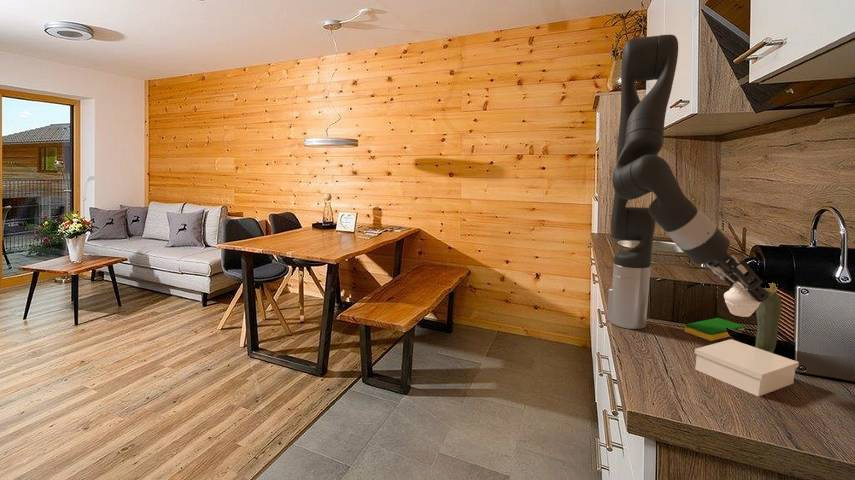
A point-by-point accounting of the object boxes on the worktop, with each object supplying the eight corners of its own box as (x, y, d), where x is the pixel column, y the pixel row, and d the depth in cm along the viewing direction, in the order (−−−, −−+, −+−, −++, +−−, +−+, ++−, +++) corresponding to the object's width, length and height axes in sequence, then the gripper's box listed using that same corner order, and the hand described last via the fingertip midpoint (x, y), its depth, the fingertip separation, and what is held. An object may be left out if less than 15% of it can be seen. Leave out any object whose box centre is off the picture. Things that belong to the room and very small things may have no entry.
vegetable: (778, 365, 89) (790, 278, 86) (756, 364, 90) (767, 277, 87) (766, 357, 93) (777, 273, 90) (745, 355, 94) (755, 272, 91)
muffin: (738, 319, 79) (743, 285, 78) (714, 309, 85) (718, 277, 84) (767, 319, 80) (772, 284, 79) (741, 309, 86) (745, 277, 85)
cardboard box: (692, 370, 88) (695, 348, 87) (728, 359, 93) (731, 339, 92) (758, 399, 76) (762, 374, 76) (795, 385, 81) (799, 362, 81)
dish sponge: (683, 332, 109) (684, 324, 109) (717, 325, 114) (718, 317, 114) (710, 342, 103) (711, 333, 102) (744, 334, 108) (745, 325, 107)
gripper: (734, 227, 73) (796, 292, 74) (692, 218, 87) (745, 273, 88) (700, 255, 75) (761, 318, 75) (664, 242, 89) (716, 295, 89)
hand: (752, 294), depth 81 cm, fingers closed on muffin, 6 cm apart
